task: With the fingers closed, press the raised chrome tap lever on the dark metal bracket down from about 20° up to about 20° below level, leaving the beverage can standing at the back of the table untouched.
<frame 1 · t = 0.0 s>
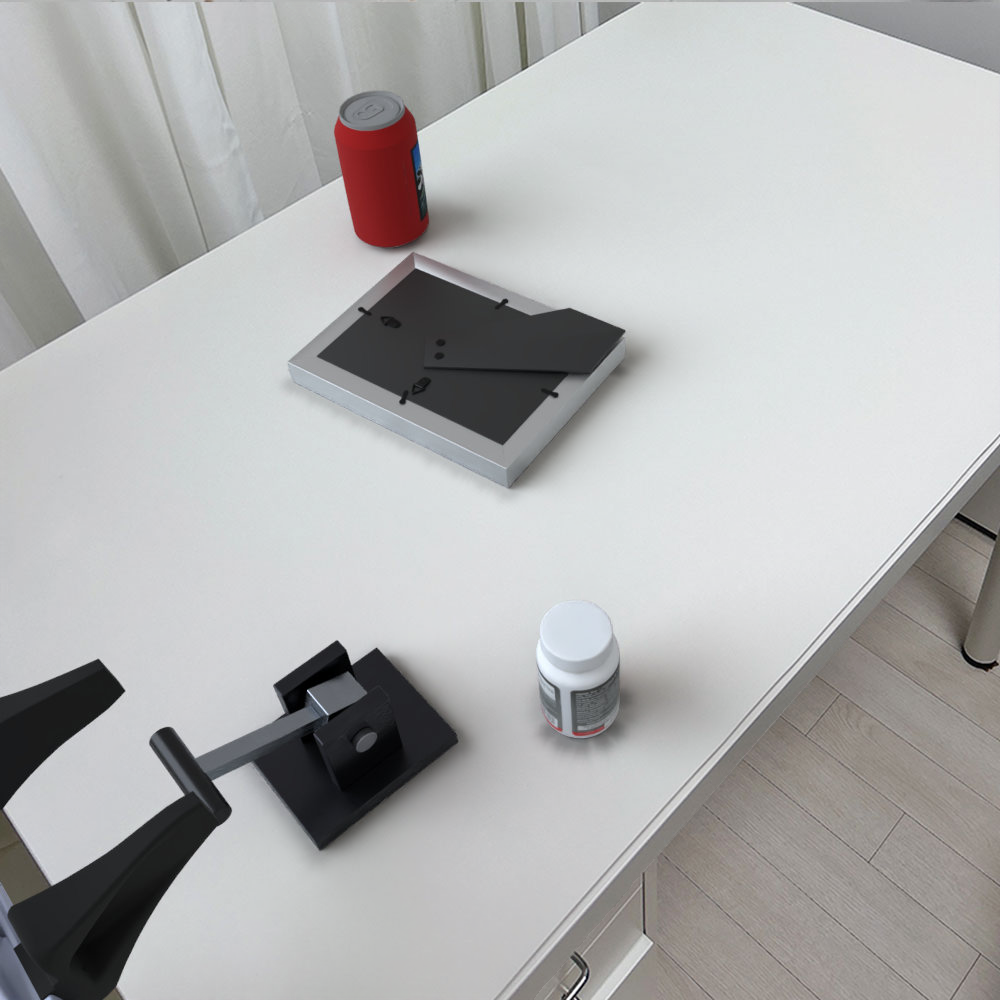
hand: (157, 737, 43), 21 cm above the table, tool horizontal, fingers open, 7 cm apart
beverage can: (393, 232, 98), on the table
picture frame: (458, 371, 86), on the table
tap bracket: (351, 748, 66), on the table
pill bottle: (579, 706, 67), on the table
tap lever: (271, 737, 59), point 6 cm above the table, hinge at 20.0°
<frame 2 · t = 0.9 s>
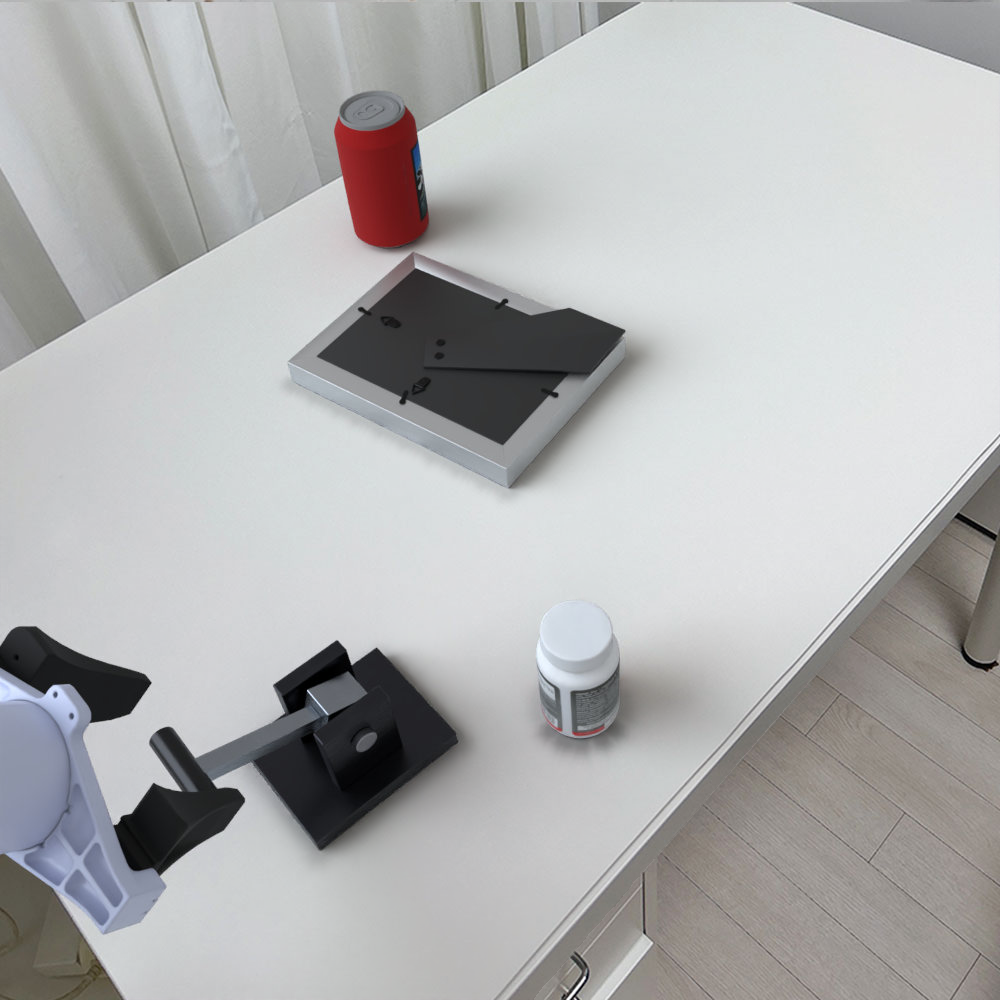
hand: (182, 750, 51), 14 cm above the table, tool tilted 40°, fingers open, 7 cm apart
nothing on the table moved.
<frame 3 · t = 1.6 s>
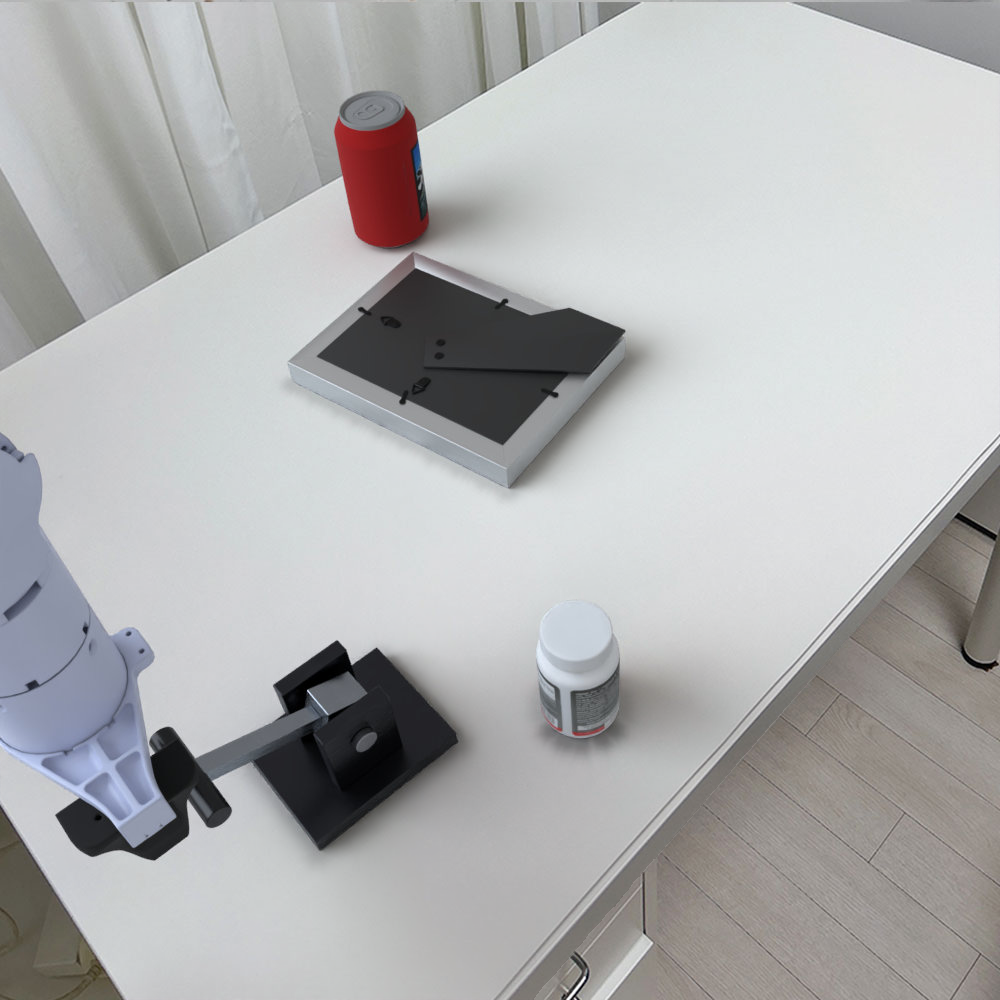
hand: (130, 787, 54), 10 cm above the table, tool pointing down, fingers open, 7 cm apart
nothing on the table moved.
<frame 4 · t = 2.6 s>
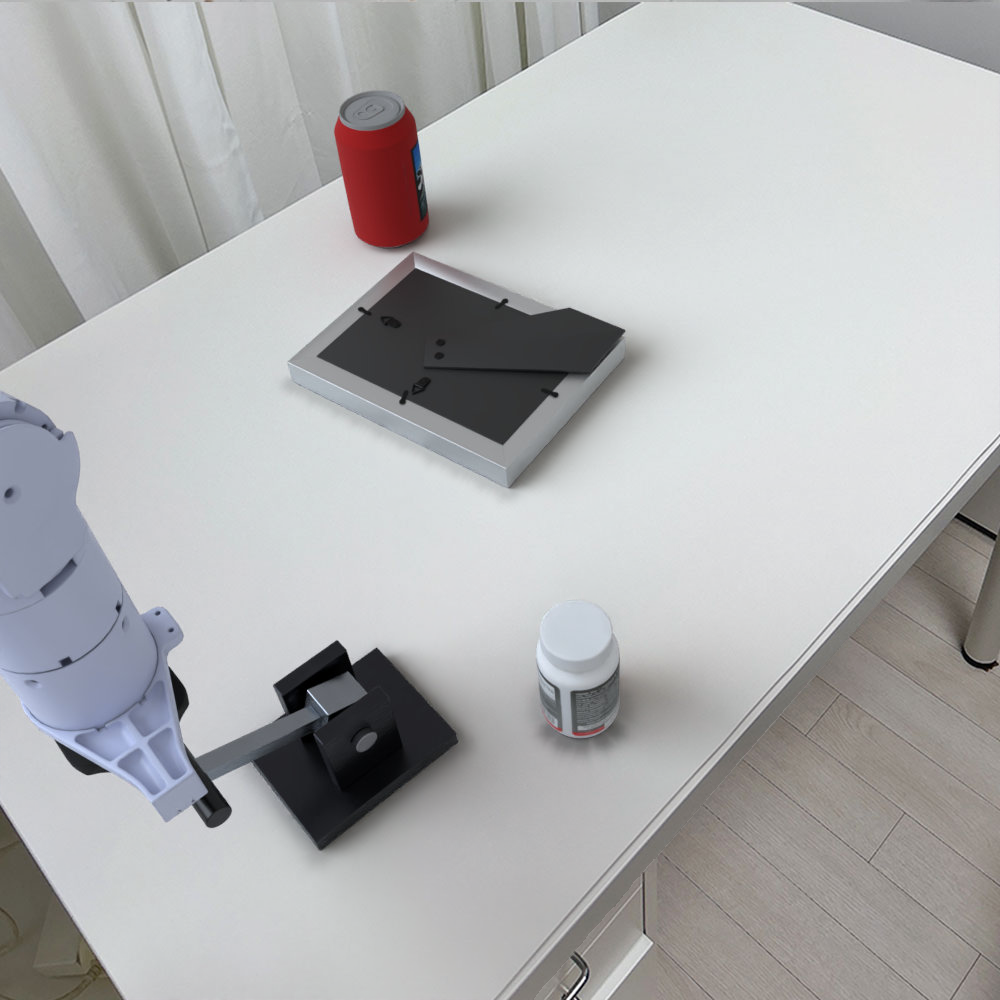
hand: (157, 766, 54), 10 cm above the table, tool pointing down, fingers closed
nothing on the table moved.
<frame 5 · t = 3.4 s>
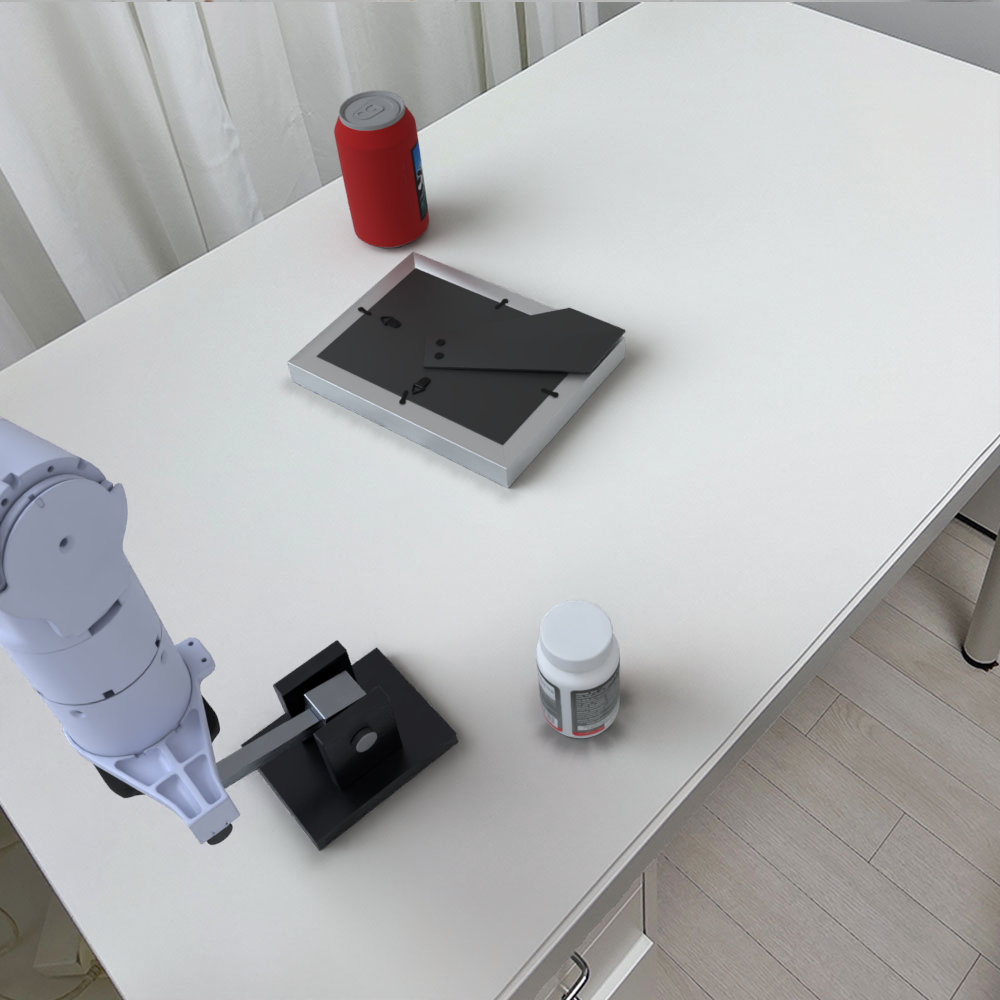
hand: (187, 787, 57), 7 cm above the table, tool pointing down, fingers closed, pressing on tap lever
tap lever: (271, 745, 60), point 6 cm above the table, hinge at 10.3°, touching gripper
everything else where it was.
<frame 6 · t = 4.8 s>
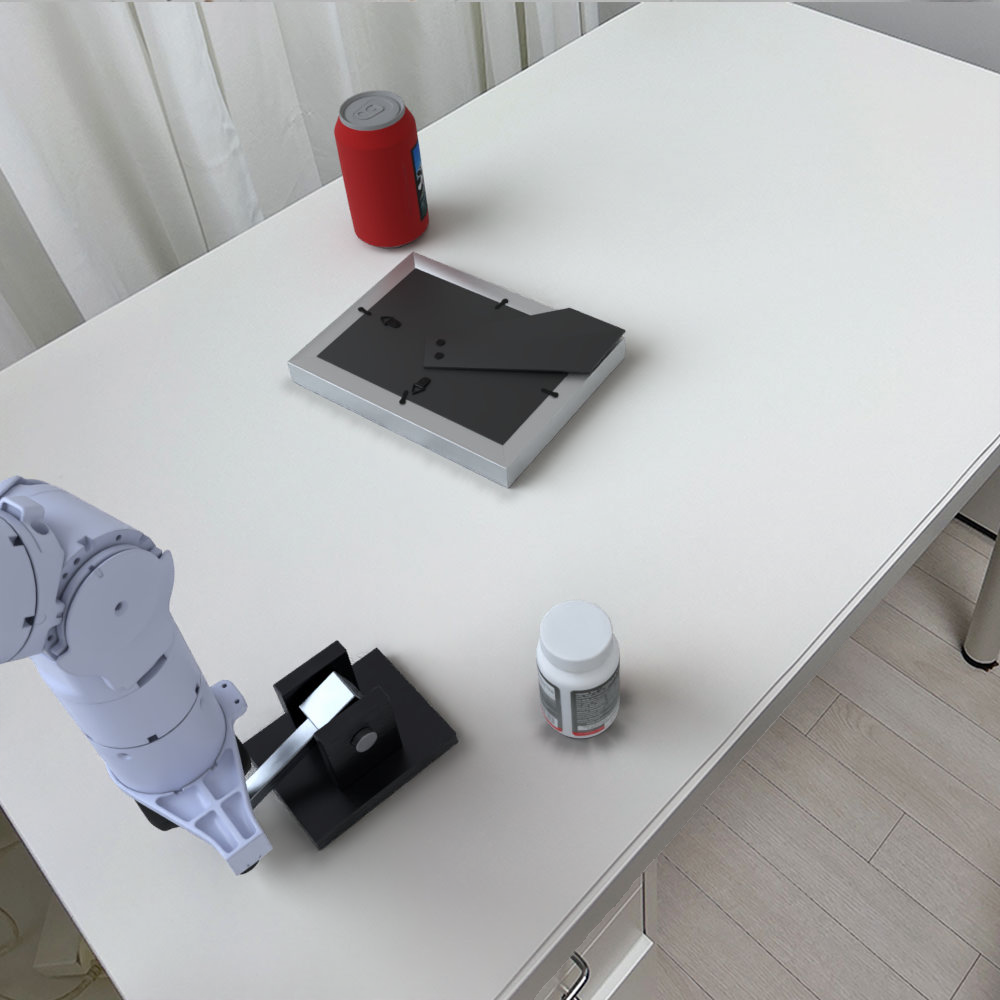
hand: (217, 817, 60), 3 cm above the table, tool pointing down, fingers closed, pressing on tap lever
tap lever: (282, 761, 61), point 4 cm above the table, hinge at -19.2°, touching gripper
everything else where it was.
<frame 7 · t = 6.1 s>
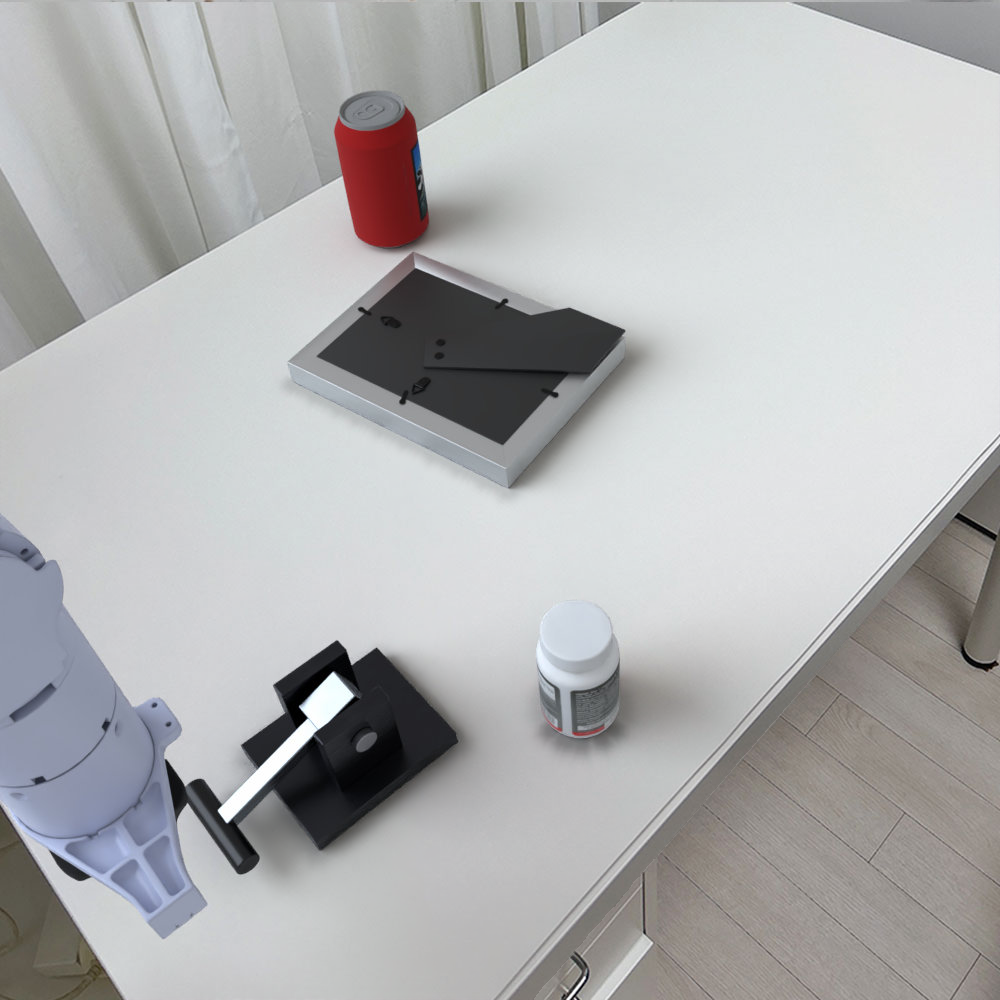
hand: (155, 857, 51), 10 cm above the table, tool pointing down, fingers closed
tap lever: (282, 761, 61), point 4 cm above the table, hinge at -19.2°
everything else where it was.
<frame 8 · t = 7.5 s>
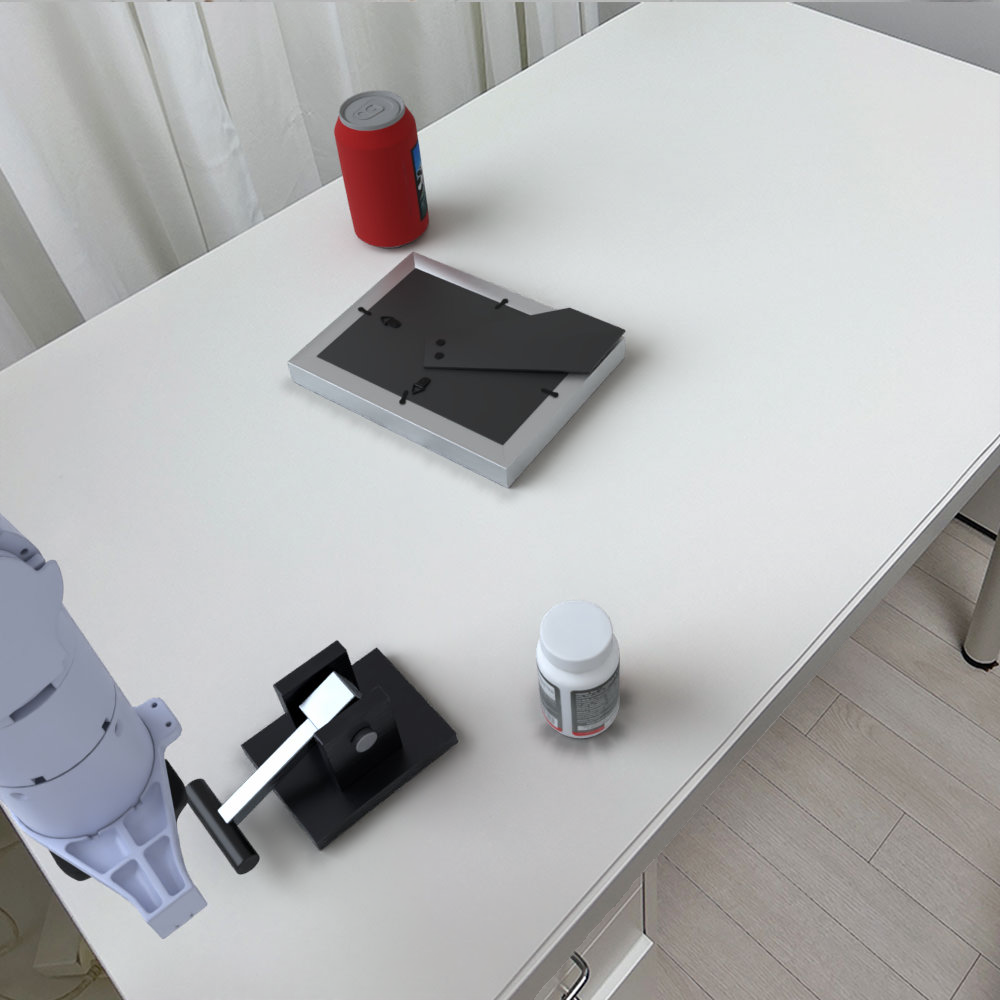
hand: (155, 857, 51), 10 cm above the table, tool pointing down, fingers closed
nothing on the table moved.
at the end: tap lever at -19° (first picture: +20°); beverage can moved 0.2 cm from its start; beverage can tilted 0° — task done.
